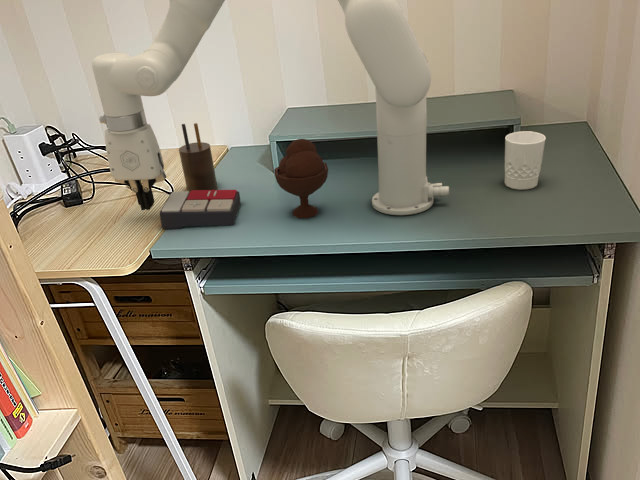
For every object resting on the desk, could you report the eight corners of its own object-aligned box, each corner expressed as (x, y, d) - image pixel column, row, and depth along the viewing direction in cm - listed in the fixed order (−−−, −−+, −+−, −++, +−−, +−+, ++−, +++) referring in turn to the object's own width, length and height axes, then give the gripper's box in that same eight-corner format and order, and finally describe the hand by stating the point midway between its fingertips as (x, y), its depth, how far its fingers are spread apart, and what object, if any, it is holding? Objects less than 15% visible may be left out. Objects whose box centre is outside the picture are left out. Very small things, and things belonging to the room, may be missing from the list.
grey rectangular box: (231, 208, 129) (158, 209, 130) (234, 228, 132) (161, 229, 132) (239, 187, 138) (170, 188, 139) (241, 206, 141) (173, 207, 141)
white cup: (526, 194, 132) (530, 146, 126) (494, 185, 137) (497, 139, 132) (548, 182, 136) (553, 135, 130) (516, 174, 141) (520, 128, 136)
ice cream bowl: (271, 210, 136) (262, 140, 128) (320, 198, 139) (314, 129, 131) (289, 228, 128) (280, 155, 119) (340, 215, 131) (335, 143, 123)
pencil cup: (220, 183, 152) (209, 117, 143) (213, 194, 146) (200, 126, 137) (192, 184, 153) (178, 118, 144) (183, 196, 147) (169, 128, 138)
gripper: (82, 128, 124) (107, 216, 134) (157, 125, 122) (176, 214, 132) (97, 117, 130) (120, 201, 141) (168, 113, 128) (186, 199, 139)
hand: (147, 207), depth 136 cm, fingers closed
